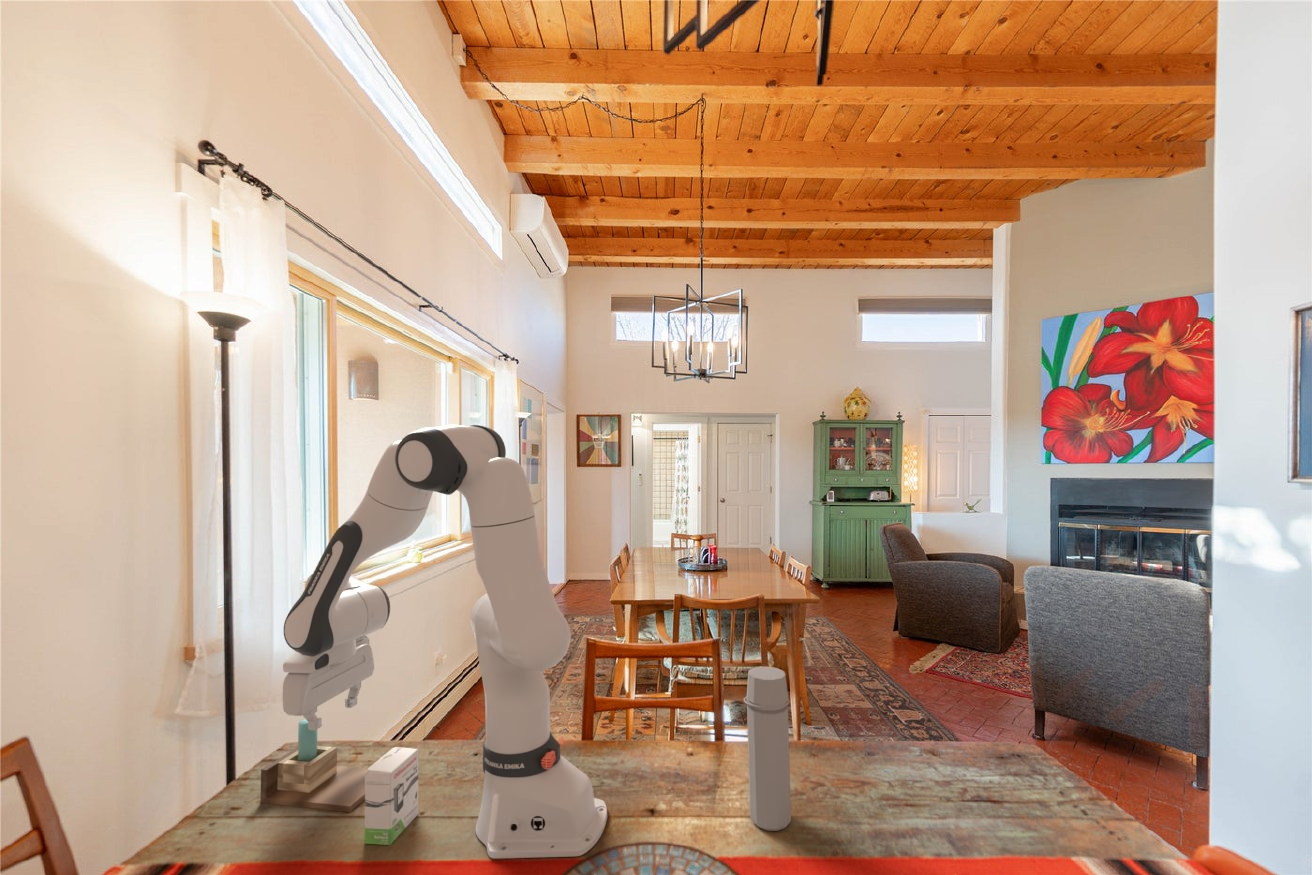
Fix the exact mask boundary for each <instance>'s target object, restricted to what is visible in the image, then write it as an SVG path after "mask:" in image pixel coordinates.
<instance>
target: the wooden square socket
mask: <svg viewBox="0 0 1312 875" xmlns="http://www.w3.org/2000/svg"><path fill="white" fill-rule="evenodd" d="M337 766H338V747H336V746H327V745H317V757H316V758H314V759H313V760H311V761H310V762H305V761H298V751H296V752H295V753H293V754H291V755H290V756H288V757H286V758H285V759H283V760H282V761H280V762H278V783H277V790H286V791H296V792H306V793H310V792H311V791H312V790H314V789H315V788H317V787H318V786H319V785H321V784H322V783H323V782H325V781H326V780H327V779H329V778H330V777H332V776H333V775H334V774H336V773H337Z"/></svg>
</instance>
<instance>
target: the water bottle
mask: <svg viewBox="0 0 1312 875" xmlns="http://www.w3.org/2000/svg"><path fill="white" fill-rule="evenodd" d="M747 671H748V672H747V685H746V686H747V687H746V696H745V697H743V703H745V704H746V711H747V714H746V715H747V717H746V718H747V719H746V720H747V722H746V723H747V755H748V756H747V757H748V758H747V759H748V760H747V761H748V788H749V789H748V793H749V795H748V796H749V799H748V800H749V816H750V820H751V822H753V823H754V824H755V825H756V826H757V828H760V829H762V830H765V831H772V832H773V831H775V832H777V831H780V830H783V829H786V828H787V827H788V826H789V824H790V823H791V821H792V805H791V804H792V803H791V802H792V801H791V798H792V797H791V796H792V795H791V769H790V768H791V767H790V762H791V761H790V736H789V735H790V732H789V731H790V730H789V708H788V705H789V703H790V699H789V693H788V692H789V691H788V685H787V684H788V682H787V677H786V673H785V671H784V670H782V669H780V668H778V667H774V666H755V667H752V668H750V669H749V670H747Z"/></svg>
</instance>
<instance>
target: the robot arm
mask: <svg viewBox="0 0 1312 875" xmlns="http://www.w3.org/2000/svg"><path fill="white" fill-rule="evenodd" d="M506 454H507V453H506V445H505V442H504V440H503V438H502V436H501V435H500V434H499V433H498V432H497V431H496V430H494V429H492V428H491V427H490V428H489V427H487V426H485V425H478V424H472V425H459V424H447V425H441V426H439V425H438V426H434V427H423V428H420V429H418V430H417V429H416V430H414V431H412V432H410V433H408V434H406V435H405V436H404V437H402V439H400V440H396V441H394V442H393V443H391V444H389V445H388V446H387V448H386V449H385V451H384V453H383V454H382V456H381V457H380V459H379V461H378V463H377V465H376V467H375V469H374V471H373V473H372V475H371V478H370V481H369V484H368V486H367V489H366V492H365V495H364V496H363V499H362V500H361V502H360V503H359V505H358V506H357V508H356V509H355V511H354V512H353V513H352V515H350V517H349V518H348V519H347V520H346V521H345V522H344V523H342V525H340V526H339V527H338V528H337V529H336V531H335V532H334V533H333V535H332V536H331V538H330V540H329V541H328V544H327V546H326V548H325V549H324V551H323V553H322V556H321V557H320V560H319V561H318V562H317V565H316V567H315V569H314V570H313V573H312V574H310V575H309V577H307V579H306V583H305V587H304V590H303V592H302V594H301V596H300V597H299V598H298V599H297V601H295V603H294V604H293V606H292V607H291V609H290V610H289V612H288V614H287V616H286V617H285V620H284V623H283V637H284V640H285V642H286V644H287V645H288V647H289V648H291V649H292V651H293V650H294V651H295V652H294V653H293V654H292V655H291V656H289V657H288V658H287V659H286V660H285V661H284V662H283V664H282V670H283V672H284V673H287V674H286V676H284V680H283V682H282V707H283V708H282V709H283V712H284V713H285V714H286V715H287V716H293V717H297V716H298V717H301V716H303V717H304V719H306V720H307V721H308V729H309V730H313V731H314V730H316V729H317V730H318V729H320V728H321V727H322V725H323V723H322V720H323V718H322V717H317V715H316V713H317V712H318V707H319V706H321V705H323V704H325V703H327V701H328V702H329V700H332V699H333V698H335V697H337V696H339V695H340V694H342V693H344V692H345V691H347V690H349V691H348V694H347V697H346V698H345V699H344V706H345V708H346V709H348V708H349V709H351V708H353V707H355V706H357V705H358V696H359V694H360V690H361V688H362V682H363V681H365V680H366V679H369V678H370V677H371V676H373V674H374V671H375V661H374V654H373V650H372V647H371V645H370V638H369V637H368V636H369V635H370V634H373V633H375V632H377V631H379V630H380V629H382V628H384V627H385V626H386V624H387V622H388V621H389V617H390V613H391V602H390V599H389V596H388V594H387V592H386V591H385V590H384V589H383V588H381V586H378V585H377V584H369V583H366V582H365V581H363V580H360V579H359V578H357V577H356V576H354V572H355V570H356V569H357V568H358V567H359V566H361V564H362V563H364V562H365V561H366V560H368V559H369V558H371V557H373V556H375V555H376V554H378V553H380V552H382V551H383V550H384V551H385V549H387V548H391V547H392V546H395V545H397V544H399V543H401V542H403V541H405V540H407V539H408V538H410V537H411V536H412V535H413V534H414V533H415V532H416V531H417V529H418V528H419V527H420V525H421V523H423V520H424V519H425V516H426V513H427V510H428V507H429V504H430V502H431V498H432V496H433V494H434V493H433V492H435V493H439V494H443V495H447V496H451V495H453V494H454V493H455V492H456V491H457V492H458V493H461V494H462V496H463V497H464V498H465V500H466V503H467V507H468V513H469V521H470V522H469V524H470V530H471V538H472V546H473V553H474V559H475V560H474V561H475V567H476V570H477V574H478V575H479V577H480V579H481V581H482V582H483V586H484V588H485V591H486V593H485V594H483V595H482V596H481V597H479V598H478V600H477V601H476V602H475V604H474V605H473V607H472V609H471V612H470V617H469V618H470V620H469V623H470V628H471V630H472V633H473V636H474V639H475V644H476V650H477V657H478V664H479V668H480V669H479V670H480V676H481V678H482V679H481V680H482V686H483V692H484V704H485V705H484V706H485V708H484V710H485V711H484V712H485V739H484V741H483V745H482V747H483V748H482V770H483V774H484V778H483V779H484V780H483V790H482V798H481V804H480V809H479V814H478V817H477V820H476V824H475V834H476V836H477V838H478V839H479V841H480V842H481V843H483V844H484V845H485V847H486V851H487V855H488V857H489V858H491V859H494V860H495V859H497V860H498V859H525V858H527V859H528V858H530V859H531V858H562V857H563V858H564V857H565V858H567V857H581V856H582V855H584V854H586V853H587V852H588V851H590V850H591V849H592V848H594V846H595V845H596V844H597V842H598V841H599V839H600V838H601V836H602V835H603V832H604V830H605V827H606V825H607V821H608V809H607V805H606V802H605V801H604V800H602V799H599V798H596V797H595V795H594V789H593V785H592V782H591V779H590V778H589V776H588V775H587V774H586V773H584V772H583V771H581V770H580V769H579V768H577V767H576V766H575V765H574V764H572V763H571V762H570V761H569V760H567V759H566V758H565V757H563V755H561V748H562V747H563V743H564V740H563V739H564V736H560V738H559V740H558V741H557V739H556V738H555V737H554V735H553V733H552V732H551V719H550V718H551V713H550V711H551V704H550V702H551V697H550V696H551V695H550V693H551V692H550V687H549V685H548V682H547V680H546V678H545V676H544V672H543V671H547V670H550V669H551V668H553V667H555V666H556V665H558V664H559V663H560V662H561V661H562V659H564V657H565V655H566V654H567V652H568V650H569V647H570V644H571V639H572V634H571V633H572V632H571V627H570V623H569V622H568V620H567V619H566V617H565V616H564V614H563V612H562V611H561V610H560V607H559V605H558V603H557V601H556V598H555V595H554V592H553V589H552V587H551V584H550V581H549V578H548V575H547V573H546V569H545V567H544V563H543V560H542V555H541V550H540V542H539V536H538V535H539V534H538V528H537V522H536V515H535V508H534V503H533V498H532V494H531V489H530V487H529V486H530V484H529V483H528V479H527V476H526V474H525V471H524V470H525V469H524V468H523V466H522V465H521V464H520V463H519V462H518V461H516V460H514V459H512V458H509V457H506ZM367 635H368V636H367Z"/></svg>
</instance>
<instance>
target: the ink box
mask: <svg viewBox="0 0 1312 875" xmlns="http://www.w3.org/2000/svg"><path fill="white" fill-rule="evenodd" d="M419 760H420V759H419V748H411V747H401V746H395V747H392V748H391V749H389V751H387V752H386V753H385V754H384V755H382V756H381V757H380V758H379V759H378V760H376V761H375V762H374V763H373V764H371V765H370V766H369V767H367V768H368V769H367V771H366V772H365V800H364V844H366V845H367V844H368V845H382V846H383V845H385V846H386V845H387V846H391V845H392V844H393V842H394V841H395V840H396V839H397V838H398V837H399V836H400V835H401V833H403V832H404V831H405V829H407V827H408V826H409V825H410V824H411V823H412V822H413V820H414V819H415V818H417V817H418V815H419Z"/></svg>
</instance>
